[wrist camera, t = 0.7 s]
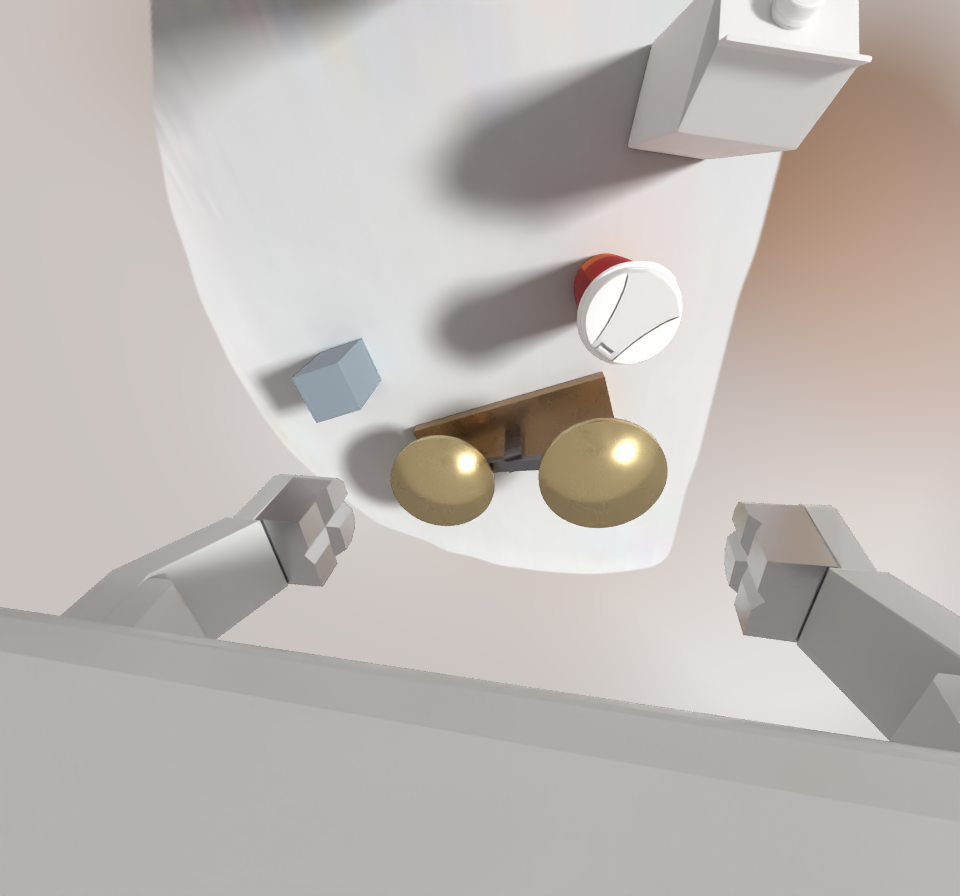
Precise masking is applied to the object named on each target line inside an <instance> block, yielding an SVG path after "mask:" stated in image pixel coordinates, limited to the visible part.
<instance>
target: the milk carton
mask: <svg viewBox="0 0 960 896" xmlns="http://www.w3.org/2000/svg"><path fill="white" fill-rule="evenodd" d="M858 6H859V4H858V0H694V1H693V2H692V3H691V4H690V5H689V6H688V7H687V8H686V9H685V10H684V11H683V12H682V13H681V14H680V15H679V16H678V17H677V18H676V19H675V20H674V21H673V23H672V24H671V25H670V26H669V27H668V28H667V29H666V30H665V31H664V32H663V33H662V34H661V35H660V36H659V37H658V38H657V39H656V40H655V41H654V42H653V43H652V47H651V51H650V55H649V59H648V63H647V67H646V72H645V76H644V80H643V84H642V88H641V92H640V96H639V100H638V105H637V109H636V113H635V117H634V121H633V125H632V129H631V133H630V138H629V142H628V147H629V148H633V149H639V150H646V151H652V152H659V153H665V154H672V155H678V156H685V157H692V158H698V159H715V158H724V157H733V156H742V155H751V154H759V153H768V152H777V151H786V150H795V149H797V147H798V146H799V145H800V143H801V142H802V140H803V139H804V138H805V137H806V135H807V134H808V132H809V131H810V130H811V128H812V127H813V126H814V124H815V123H816V122H817V120H818V119H819V117H820V116H821V115H822V114H823V112H824V111H825V109H826V108H827V107H828V105H829V104H830V103H831V101H832V100H833V98H834V97H835V96H836V94H837V93H838V92H839V90H840V89H841V87H842V86H843V85H844V84H845V82H846V81H847V80H848V78H849V77H850V76H851V74H852V73H853V72H854V70H855V69H856V67H857V66H860V65H863V64H866V63H869V62H871V60H872V56H868V55H860V54H859V14H858V13H859V10H858V8H859V7H858Z"/></svg>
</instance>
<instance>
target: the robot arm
mask: <svg viewBox="0 0 960 896" xmlns="http://www.w3.org/2000/svg"><path fill="white" fill-rule="evenodd" d="M347 494H348V493H347V491H346V488H345V485H344V482H343V481H341V480H340V479H338V478H328V477H315V476H302V475H299V476H298V475H287V474H280V475H276V476H274V477H273V478H272V479H271V480H270V481H269V482H268V483H267V484H266V485H265V486H264V487H263V488H262V489H261V490H260V491H259V492H258V493H257V494H256V495H255V496H254V497H253V498H252V499H251V500H250V501H249V502H248V503H247V504H246V505H245V506H244V507H243V508H242V509H241V510H240V511H239V512H238V513H237V514H236V515H235V516H234V517H233V518H224V519H222V520H220V521H218V522H216V523H214V524H212V525H210V526H207V527H205V528H203V529H201V530H199V531H196V532H195V533H192V534H190V535H188V536H186V537H184V538H181V539H179V540H177V541H175V542H173V543H171V544H168V545H166V546H164V547H162V548H160V549H158V550H156V551H153V552H151V553H149V554H147V555H145V556H143V557H141V558H138V559H136V560H134V561H132V562H130V563H128V564H125V565H123V566H121V567H119V568H117V569H115V570H112V571H111V572H110V573H109V574H108V575H107V576H105V577H104V578H103V579H102V580H101V581H99V582H98V583H97V584H96V585H95V586H94V587H93V588H92V589H91V590H89V591H88V592H87V593H86V594H85V595H84V596H82V597H81V598H80V599H79V600H78V601H77V602H76V603H74V604H73V605H72V606H71V607H70V608H69V609H68V610H66V611H65V612H64V613H63V614H62V615H61V616H56V615H50V614H42V613H36V612H29V611H23V610H16V609H9V608H3V607H0V896H960V616H958V615H957V614H955V613H953V612H952V611H950V610H948V609H947V608H945V607H943V606H942V605H940V604H939V603H937V602H935V601H934V600H932V599H931V598H929V597H927V596H926V595H924V594H922V593H921V592H919V591H918V590H916V589H914V588H913V587H911V586H909V585H908V584H906V583H905V582H903V581H901V580H900V579H898V578H896V577H895V576H893V575H892V574H890V573H887V572H878V571H877V570H876V568H875V566H874V565H873V563H872V562H871V560H870V559H869V557H868V556H867V554H866V553H865V551H864V550H863V548H862V547H861V545H860V544H859V542H858V541H857V540H856V538H855V536H854V535H853V533H852V532H851V530H850V528H849V527H848V525H847V524H846V522H845V521H844V520H843V518H842V516H841V515H840V513H839V512H838V510H837V509H836V508H834V507H832V506H831V505H802V504H801V505H800V504H799V505H783V504H766V503H765V504H764V503H747V502H738V504H737V506H736V507H735V510H734V514H733V518H732V520H733V523H734V526H735V529H736V531H735V532H733V533H732V534H730V535H729V536H728V538H727V543H726V547H725V562H724V565H725V571H726V577H727V581H728V584H729V586H730V587H731V588H733V589H734V590H735V591H736V592H737V593H738V594H737V597H736V600H735V604H734V605H735V608H736V612H737V615H738V618H739V621H740V625H741V628H742V631H743V635H748V636H755V637H762V638H769V639H776V640H784V641H791V642H798V643H797V645H798V646H799V648H800V649H801V650H802V651H803V652H804V653H805V654H806V655H807V656H808V657H809V658H810V659H811V660H812V661H813V662H814V663H815V664H816V665H817V666H818V667H819V668H820V669H821V670H822V671H823V672H824V673H825V674H826V675H827V676H828V677H829V679H830V680H831V681H832V682H833V683H834V684H835V685H836V686H837V687H838V688H839V689H840V690H841V691H842V692H843V693H844V694H845V695H846V696H847V697H848V698H849V699H850V700H851V701H852V702H853V703H854V704H855V705H856V706H857V707H858V709H859V710H861V712H862V713H863V714H864V715H865V716H866V717H867V718H868V719H869V720H870V721H871V722H872V723H873V724H874V725H875V726H876V727H877V728H878V729H879V730H880V731H881V732H882V733H883V734H884V735H885V736H886V737H887V739H889V741H882V740H876V739H869V738H862V737H856V736H849V735H843V734H836V733H830V732H823V731H817V730H810V729H804V728H797V727H790V726H784V725H777V724H770V723H763V722H757V721H751V720H744V719H738V718H731V717H724V716H717V715H711V714H705V713H698V712H691V711H685V710H678V709H672V708H665V707H658V706H652V705H645V704H638V703H632V702H625V701H619V700H612V699H605V698H599V697H591V696H585V695H579V694H572V693H565V692H559V691H552V690H545V689H539V688H532V687H525V686H519V685H512V684H506V683H499V682H493V681H486V680H480V679H473V678H466V677H459V676H453V675H447V674H440V673H433V672H426V671H420V670H413V669H407V668H400V667H394V666H386V665H380V664H373V663H367V662H361V661H354V660H348V659H341V658H334V657H327V656H321V655H314V654H308V653H301V652H294V651H288V650H281V649H274V648H268V647H261V646H254V645H248V644H241V643H235V642H228V641H222V640H216V639H217V638H218V637H220V636H221V635H222V634H224V633H225V632H226V631H228V630H229V629H230V628H232V627H233V626H234V625H236V624H237V623H238V622H240V621H241V620H242V619H244V618H245V617H246V616H248V615H249V614H250V613H252V612H253V611H254V610H256V609H257V608H258V607H260V606H261V605H263V604H264V603H265V602H267V601H268V600H269V599H270V598H272V597H273V596H275V595H276V594H277V593H279V592H280V591H281V590H283V589H284V588H285V587H287V586H288V584H299V585H311V586H324V584H325V583H326V581H327V579H328V578H329V576H330V575H331V573H332V571H333V570H334V568H335V567H336V565H337V560H336V555H338V554H340V553H341V552H343V551H344V550H346V549H347V547H348V546H349V544H350V542H351V541H352V537H353V533H354V529H355V519H354V514H353V510H352V508H351V507H350V506H348V505H347V504H346V503H345V502H344V499H345V497H346V495H347Z"/></svg>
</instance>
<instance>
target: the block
mask: <svg viewBox="0 0 960 896" xmlns="http://www.w3.org/2000/svg"><path fill="white" fill-rule="evenodd" d="M292 380H293V382H294V384H295V386H296V387H297V389H298V391H299V393H300V394H301V396H302V398H303V400H304V402H305V403H306V405H307V407H308V409H309V411H310V412H311V414H312V416H313V418H314V419H315V421H316V423H318V422H322V421H325V420H328V419H331V418H335V417H338V416H341V415H345V414H348V413H351V412H354V411H358V410H361V409H362V407H363V406H364V404H365V403H366V401H367V400H368V398H369V397H370V395H371V394H372V393H373V391H374V390H375V388H376V387H377V385H378V384H379V382H380V381H381V378H380V376H379V374H378V372H377V369H376V367H375V365H374V363H373V361H372V359H371V357H370V355H369V352H368V350H367V348H366V346H365V344H364V342H363V340H362V338H361V339H358V340H355V341H352V342H349V343H346V344H343V345H340V346H337V347H334V348H332V349H329V350H326V351H323V352H321V353H320V354H319V355H317V356H316V357H315V358H314V359H313V360H312V361H311V362H309V363H308V364H307V365H306V366H305V367H304V368H302V369H301V370H300V371H299V372H298V373H297V374H296V375H294V376H293V377H292Z"/></svg>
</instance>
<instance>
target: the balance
mask: <svg viewBox="0 0 960 896" xmlns="http://www.w3.org/2000/svg"><path fill="white" fill-rule="evenodd" d="M413 432H414V434H415V436H416V438H417V440H415V441H413V442H411V443H410V444H409V445H407V446H406V447H405V448H404V449H403V450H402V451H401V452H400V453H399V455H398V456H397V458H396V460H395V462H394V465H393V468H392V471H391V486H392V490H393V493H394V495H395V497H396V499H397V500H398V502H399V503H400V505H401V506H402V507H403V508H404V509H405V510H406V511H407V512H408V513H410V514H411V515H413V516H414V517H416V518H418V519H420V520H422V521H424V522H427V523H430V524H434V525H441V526H453V525H459V524H463V523H466V522H469V521H471V520H473V519H475V518H476V517H478V516H479V515H480V514H482V513H483V512H484V511H485V510H486V508H487V507H488V506H489V504H490V502H491V500H492V497H493V493H494V485H495V479H494V473H495V472H507V471H509V473H510V472H514V471H527V470H539V487H540V491H541V494H542V496H543V499H544V500H545V502H546V504H547V505H548V506H549V507H550V509H551V510H552V511H553V512H554V513H556V514H557V515H558V516H560V517H561V518H562V519H564V520H566V521H568V522H570V523H573V524H576V525H579V526H583V527H590V528H606V527H612V526H617V525H621V524H624V523H626V522H629V521H631V520H633V519H635V518H637V517H639V516H640V515H642V514H643V513H645V512H646V511H647V510H648V509H649V508H650V507H651V506H652V505H653V504H654V503H655V502H656V501H657V499H658V498H659V497H660V495H661V493H662V491H663V489H664V486H665V484H666V479H667V462H666V458H665V455H664V453H663V451H662V449H661V447H660V445H659V444H658V442H657V441H656V439H655V438H654V437H653V436H652V435H651V434H650V433H649V432H648V431H647V430H645V429H644V428H642V427H641V426H639V425H637V424H635V423H632V422H630V421H626V420H623V419H617V418H614V416H613V411H612V407H611V403H610V399H609V394H608V390H607V386H606V382H605V377H604V375H603V373H602V372H600V373H596V374H593V375H589V376H586V377H582V378H579V379H575V380H572V381H568V382H565V383H562V384H558V385H555V386H551V387H548V388H544V389H541V390H537V391H534V392H530V393H527V394H524V395H520V396H517V397H513V398H510V399H506V400H503V401H499V402H496V403H493V404H489V405H486V406H482V407H479V408H475V409H472V410H468V411H465V412H461V413H458V414H455V415H451V416H448V417H444V418H441V419H437V420H434V421H430V422H427V423H423V424H420V425H417V426H415V429H414V431H413Z"/></svg>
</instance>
